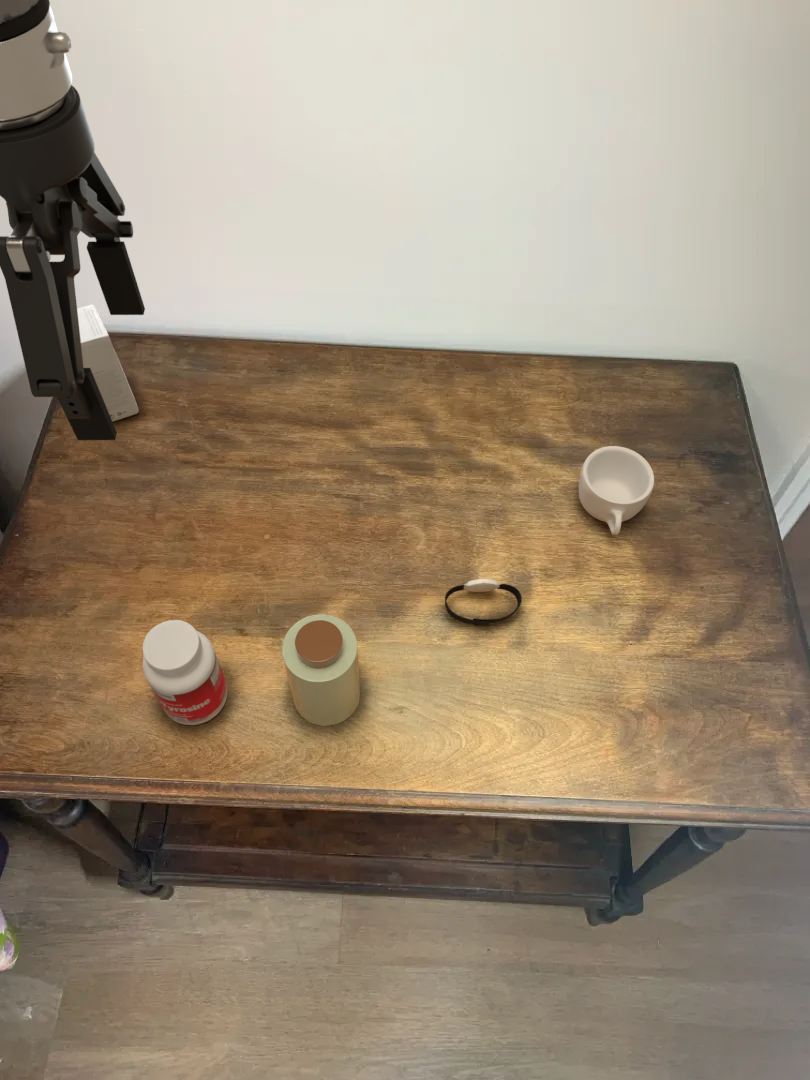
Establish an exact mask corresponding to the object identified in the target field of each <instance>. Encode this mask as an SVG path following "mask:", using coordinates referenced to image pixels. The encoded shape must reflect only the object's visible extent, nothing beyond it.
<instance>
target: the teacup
mask: <svg viewBox="0 0 810 1080" xmlns="http://www.w3.org/2000/svg"><path fill="white" fill-rule="evenodd" d="M579 473H580V474H579V479H578V498H579V501H580V504H581V506H582V507H583V508H584V510H585V512H587V513H588V514H589V515H590V516H592V517H593V518H595V519H597V520H598V521H601V522H604V523H606V524H607V525H608V529H609V530H610V534H611V535H613V536H618V535H619V534H620V532H621V527H622V522H625V521H628V520H630V519H632V518H633V517H635V516H636V515H637V514H638V513H639V512H640V511H641V510H642V509H643V508H644V507H645V505H646V504H647V502H648V501H649V499H650V497H651V495H652V493H653V490H654V488H655V487H654V486H655V475H654V471H653V468H652V467H651V465H650V464H649V462H648V461H647V460H646V459H645V457H643V456H642V455H641V454H639V453H638V452H636V451H634V449H633V450H632V449H631V448H627V447H623V446H620V445H619V446H618V445H608V446H603V447H600V448H597V449H596V450H594V451H592V452H591V453H590V454H589V455H588V456H587V457H586V459H585V460H584V462H583V464H582V466H581V469H580V472H579Z"/></svg>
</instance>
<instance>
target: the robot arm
mask: <svg viewBox="0 0 810 1080" xmlns="http://www.w3.org/2000/svg"><path fill="white" fill-rule="evenodd" d="M71 41H72V40H71V39H70V37H69V35H68V34H67V33H66V32H63V31H59V30H58V26H57V23H56V20H55V16H54V13H53V9H52V6H51V3H50V0H0V197H1V198H2V199H3V200H4V201H5V205H6V208H7V216H8V223H9V226H10V228H11V229H12V232H11V234H10V235H9V236H8V235H6V236H5V235H2V236H1V235H0V270H1V272H2V275H3V277H4V281H5V285H6V290H7V294H8V298H9V303H10V306H11V311H12V315H13V320H14V324H15V328H16V332H17V336H18V341H19V345H20V349H21V353H22V358H23V362H24V367H25V371H26V375H27V379H28V383H29V388H30V392H31V395H32V396H33V397H34V398H57V400H58V402H59V404H60V406H61V409H62V411H63V412H64V415H65V416H66V418H67V421H68V422H69V425H70V427H71V429H72V431H73V433H74V436H75V438H76V439H77V441H115V440H116V437H117V434H118V433H117V429H116V427H115V424H114V421H113V422H112V419H111V417H110V415H109V412H108V410H107V407H106V405H105V403H104V400H103V398H102V395H101V393H100V391H99V388H98V386H97V383H96V381H95V378H94V376H93V374H92V371H91V369H90V368H83V358H82V349H81V340H80V331H79V321H78V312H77V309H78V303H77V296H76V286H75V277H76V276H77V275H78V274H79V273H80V271H81V259H80V249H79V240H78V236H79V234H80V233H83V234H84V235H85V236H87V238H90V239H93V238H95V241H88V242H87V245H86V250H87V254H88V255H89V259H90V261H91V264H92V267H93V269H94V273H95V275H96V279H97V281H98V284H99V287H100V289H101V292H102V295H103V298H104V301H105V304H106V306H107V309H108V312H109V314H110V316H144V315H145V310H146V307H145V305H144V304H145V303H144V301H143V298H142V295H141V291H140V288H139V285H138V281H137V279H136V276H135V273H134V269H133V266H132V263H131V259H130V256H129V253H128V249H127V247H126V244H125V241H121V239H122V238H124V239H126V238H127V239H132V238H133V236H134V227H133V224H132V222H131V220H120V219H119V217H124V216H125V214H126V205H125V202H124V201H123V198H122V196H121V195H120V194H119V192H118V190H117V188H116V187H115V185H114V183H113V181H112V179H111V178H110V176H109V174H108V173H107V171H106V169H105V168H104V166H103V164H102V163H101V161H100V159H99V158H98V156H97V154H96V152H95V151H96V150H95V141H94V137H93V135H92V131H91V128H90V125H89V122H88V119H87V115H86V112H85V109H84V106H83V103H82V99H81V96H80V93H79V91H78V90H77V89H76V87H75V86H73V85H72V84H73V74H72V71H71V68H70V63H69V60H68V58H67V54H68V53H69V52H70V51H71V50H72V42H71ZM66 53H67V54H66ZM51 256H64V258H63V260H61V261H51Z"/></svg>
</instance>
